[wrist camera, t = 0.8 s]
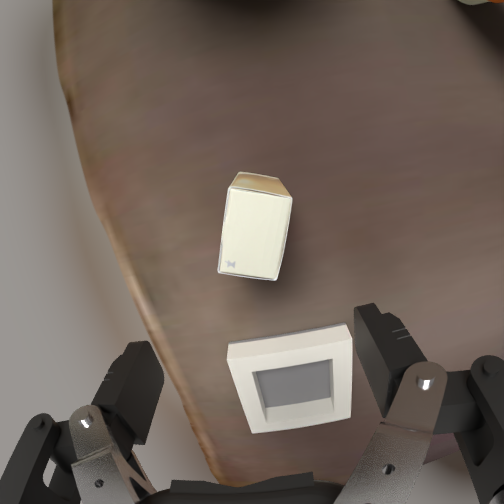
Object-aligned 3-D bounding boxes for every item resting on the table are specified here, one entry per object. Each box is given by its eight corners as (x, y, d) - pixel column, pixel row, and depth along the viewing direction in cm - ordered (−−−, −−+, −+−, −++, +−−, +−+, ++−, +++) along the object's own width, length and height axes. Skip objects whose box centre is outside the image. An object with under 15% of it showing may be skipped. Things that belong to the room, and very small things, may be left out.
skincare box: (269, 233, 33) (277, 286, 21) (229, 227, 33) (215, 277, 21) (280, 174, 31) (295, 196, 19) (237, 167, 30) (227, 185, 19)
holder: (345, 322, 37) (352, 338, 34) (345, 401, 43) (350, 417, 39) (228, 342, 38) (226, 359, 35) (252, 416, 44) (252, 433, 40)
